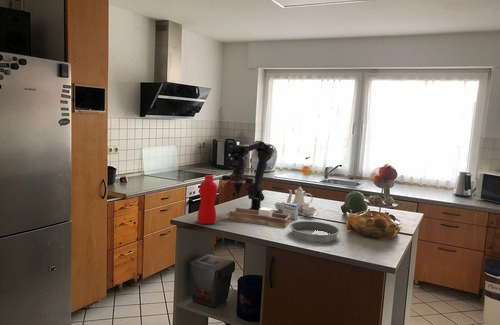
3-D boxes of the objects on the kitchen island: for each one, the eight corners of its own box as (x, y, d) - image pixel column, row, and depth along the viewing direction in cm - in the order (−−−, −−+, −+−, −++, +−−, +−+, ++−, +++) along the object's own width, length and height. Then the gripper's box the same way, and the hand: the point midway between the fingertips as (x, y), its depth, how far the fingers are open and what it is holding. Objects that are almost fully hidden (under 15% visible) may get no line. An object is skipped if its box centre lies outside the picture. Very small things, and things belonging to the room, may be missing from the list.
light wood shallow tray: (236, 213, 226) (237, 207, 225) (290, 221, 216) (291, 214, 216) (228, 219, 213) (228, 212, 212) (285, 227, 203) (285, 220, 202)
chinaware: (270, 215, 235) (271, 188, 231) (278, 207, 250) (279, 182, 246) (316, 222, 225) (318, 194, 222) (321, 213, 240) (323, 187, 237)
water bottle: (213, 219, 211) (216, 173, 208) (216, 224, 200) (219, 177, 197) (196, 219, 209) (199, 173, 206) (198, 224, 198) (200, 176, 195)
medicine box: (282, 218, 223) (283, 203, 222) (285, 216, 227) (286, 202, 226) (295, 220, 219) (296, 205, 219) (297, 218, 223) (299, 204, 222)
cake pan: (305, 226, 209) (306, 218, 209) (347, 237, 194) (348, 228, 194) (279, 235, 190) (279, 226, 190) (323, 248, 175) (324, 238, 175)
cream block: (261, 215, 217) (262, 207, 216) (271, 217, 215) (272, 208, 214) (258, 218, 211) (258, 209, 210) (268, 219, 209) (269, 210, 208)
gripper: (218, 166, 217) (217, 194, 219) (250, 170, 211) (248, 198, 213) (226, 164, 227) (224, 191, 229) (256, 168, 222) (254, 194, 223)
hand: (237, 193), depth 223 cm, fingers closed
